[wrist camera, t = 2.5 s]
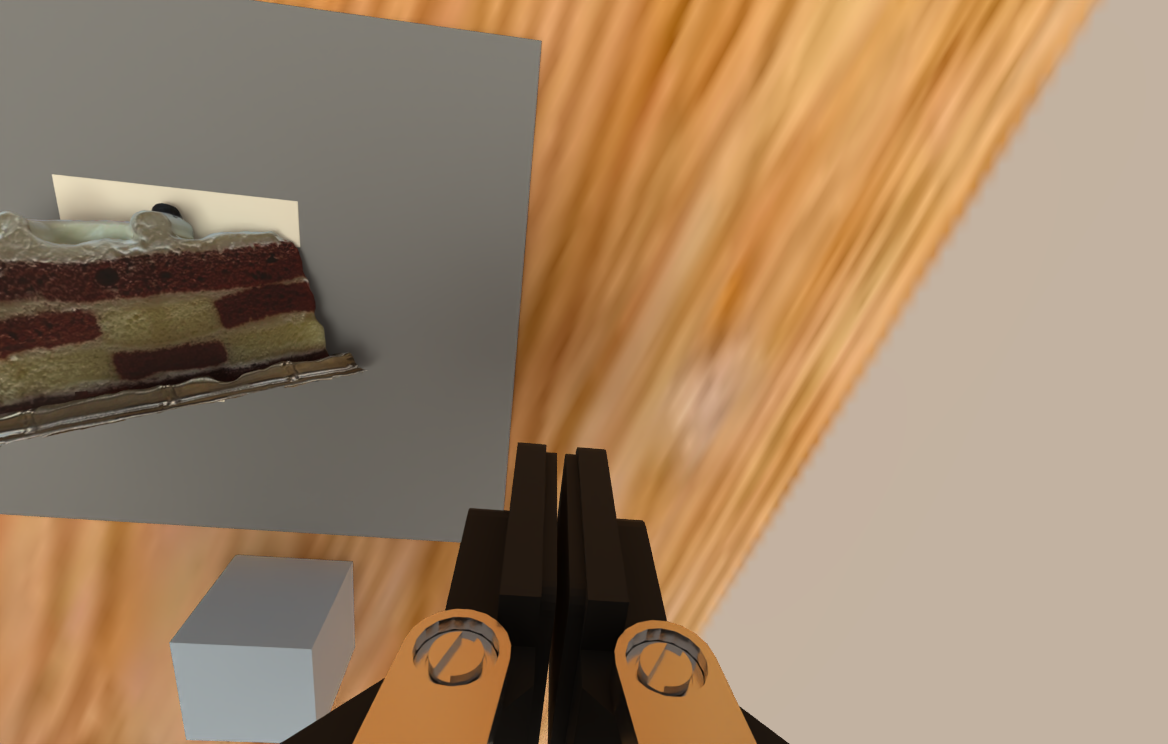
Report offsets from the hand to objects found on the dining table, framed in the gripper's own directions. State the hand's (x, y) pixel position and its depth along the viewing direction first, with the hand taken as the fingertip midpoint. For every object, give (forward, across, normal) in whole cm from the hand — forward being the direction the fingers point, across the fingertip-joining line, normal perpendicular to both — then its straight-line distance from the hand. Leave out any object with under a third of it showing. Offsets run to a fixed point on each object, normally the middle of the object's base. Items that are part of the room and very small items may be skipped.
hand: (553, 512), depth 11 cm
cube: (+12, +10, +15) cm, 22 cm away
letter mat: (+12, +13, +1) cm, 18 cm away
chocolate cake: (+12, +13, +1) cm, 18 cm away
